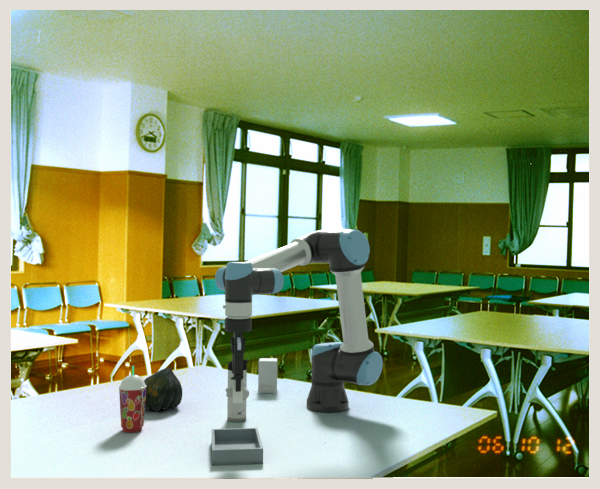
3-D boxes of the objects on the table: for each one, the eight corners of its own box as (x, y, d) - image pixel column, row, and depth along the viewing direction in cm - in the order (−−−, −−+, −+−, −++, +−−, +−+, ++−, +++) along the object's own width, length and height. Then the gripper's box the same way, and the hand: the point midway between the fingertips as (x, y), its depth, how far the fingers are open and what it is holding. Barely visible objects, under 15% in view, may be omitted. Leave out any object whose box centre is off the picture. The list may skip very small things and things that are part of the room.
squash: (124, 394, 225) (149, 364, 221) (150, 387, 238) (174, 359, 235) (149, 425, 220) (175, 395, 217) (173, 416, 234) (198, 388, 231)
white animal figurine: (249, 403, 178) (249, 374, 178) (224, 403, 178) (225, 374, 178) (249, 398, 184) (249, 370, 184) (225, 398, 183) (226, 370, 183)
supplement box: (276, 393, 253) (276, 361, 253) (257, 393, 253) (258, 361, 253) (277, 389, 260) (277, 357, 260) (259, 389, 260) (259, 357, 260)
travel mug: (244, 422, 211) (244, 361, 211) (224, 421, 212) (225, 360, 212) (249, 417, 217) (250, 358, 217) (230, 416, 218) (231, 357, 218)
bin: (257, 441, 191) (257, 427, 191) (263, 463, 172) (263, 448, 172) (211, 442, 189) (211, 429, 189) (212, 465, 170) (212, 450, 170)
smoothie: (151, 428, 204) (152, 364, 204) (136, 435, 196) (137, 369, 196) (128, 425, 206) (129, 362, 206) (112, 432, 198) (113, 367, 198)
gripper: (223, 313, 189) (222, 392, 189) (225, 321, 171) (224, 408, 171) (249, 313, 190) (248, 392, 190) (254, 321, 172) (253, 408, 172)
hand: (237, 399), depth 181 cm, fingers closed on white animal figurine, 5 cm apart
